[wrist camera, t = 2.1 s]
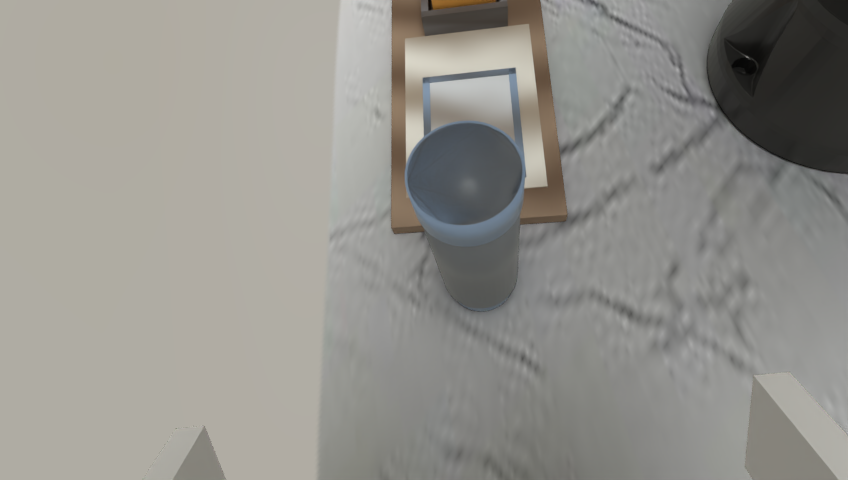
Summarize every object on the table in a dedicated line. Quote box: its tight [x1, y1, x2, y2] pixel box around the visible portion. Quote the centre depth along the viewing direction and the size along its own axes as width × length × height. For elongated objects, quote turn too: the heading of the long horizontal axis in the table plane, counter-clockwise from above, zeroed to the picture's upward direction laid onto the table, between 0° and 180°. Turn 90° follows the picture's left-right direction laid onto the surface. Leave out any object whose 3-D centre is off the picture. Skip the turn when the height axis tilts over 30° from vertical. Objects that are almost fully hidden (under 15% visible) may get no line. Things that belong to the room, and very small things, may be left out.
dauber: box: [405, 121, 525, 311], centre depth 27 cm, size 5×5×14 cm
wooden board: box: [391, 0, 567, 234], centre depth 38 cm, size 22×11×3 cm, turn 1°
